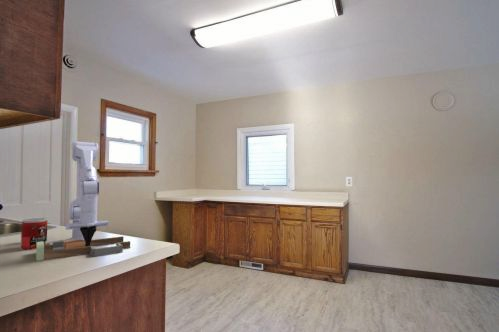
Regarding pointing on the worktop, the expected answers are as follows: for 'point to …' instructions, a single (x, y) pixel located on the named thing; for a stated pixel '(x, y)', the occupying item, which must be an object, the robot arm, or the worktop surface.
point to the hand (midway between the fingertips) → (87, 246)
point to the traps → (94, 251)
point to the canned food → (32, 232)
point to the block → (74, 244)
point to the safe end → (40, 251)
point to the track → (82, 248)
